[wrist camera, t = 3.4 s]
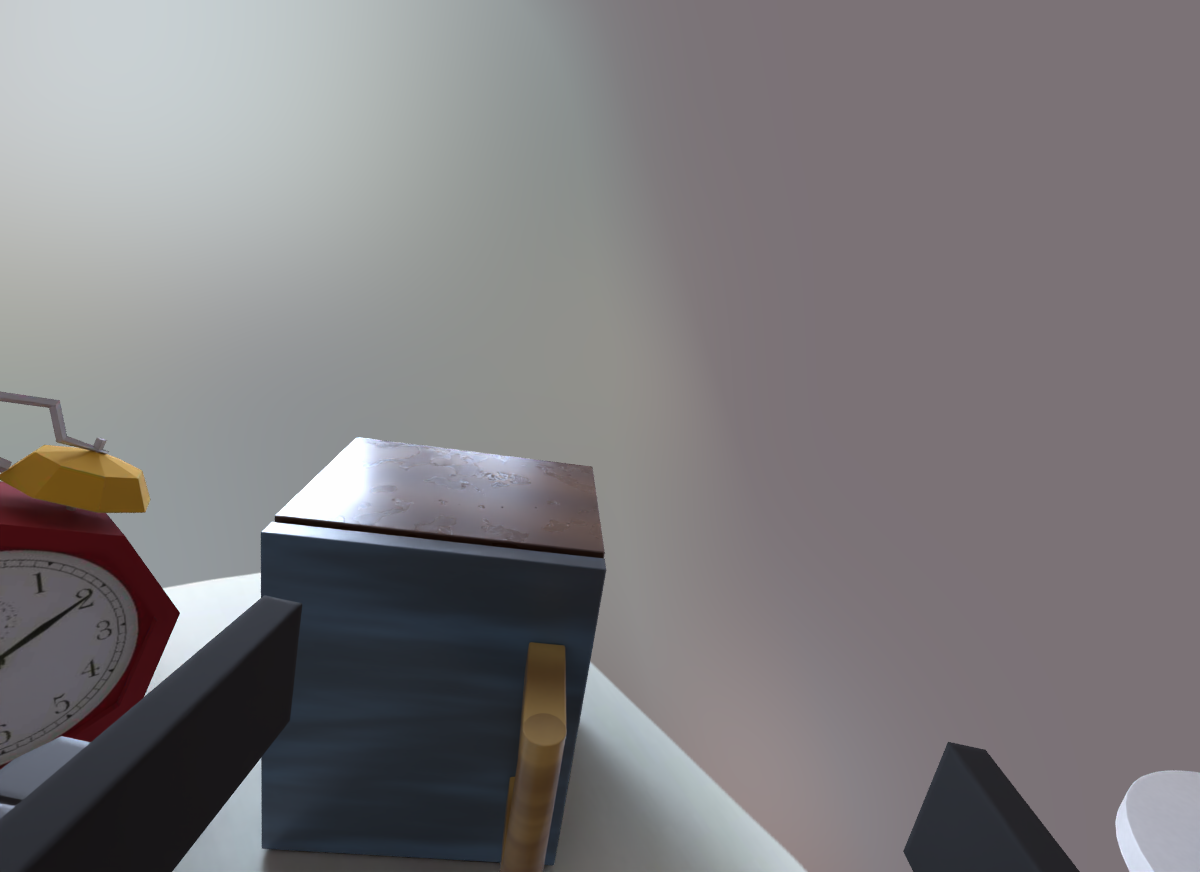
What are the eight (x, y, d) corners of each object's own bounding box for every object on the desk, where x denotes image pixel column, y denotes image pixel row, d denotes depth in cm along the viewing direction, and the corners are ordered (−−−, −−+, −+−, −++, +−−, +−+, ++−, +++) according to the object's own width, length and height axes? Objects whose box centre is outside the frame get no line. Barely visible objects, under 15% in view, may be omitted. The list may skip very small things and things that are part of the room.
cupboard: (553, 845, 32) (604, 552, 27) (272, 827, 31) (273, 515, 26) (555, 697, 43) (592, 466, 38) (345, 678, 41) (356, 436, 36)
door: (552, 1001, 25) (618, 656, 21) (192, 989, 24) (173, 615, 19) (554, 847, 32) (605, 558, 27) (270, 830, 30) (271, 521, 26)
